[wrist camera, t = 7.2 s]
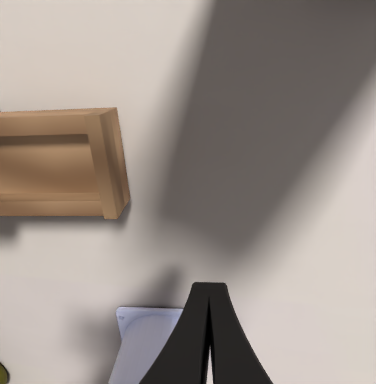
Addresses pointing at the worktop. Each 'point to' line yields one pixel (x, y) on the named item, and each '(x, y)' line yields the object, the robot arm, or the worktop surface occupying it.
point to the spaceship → (3, 375)
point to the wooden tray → (62, 163)
